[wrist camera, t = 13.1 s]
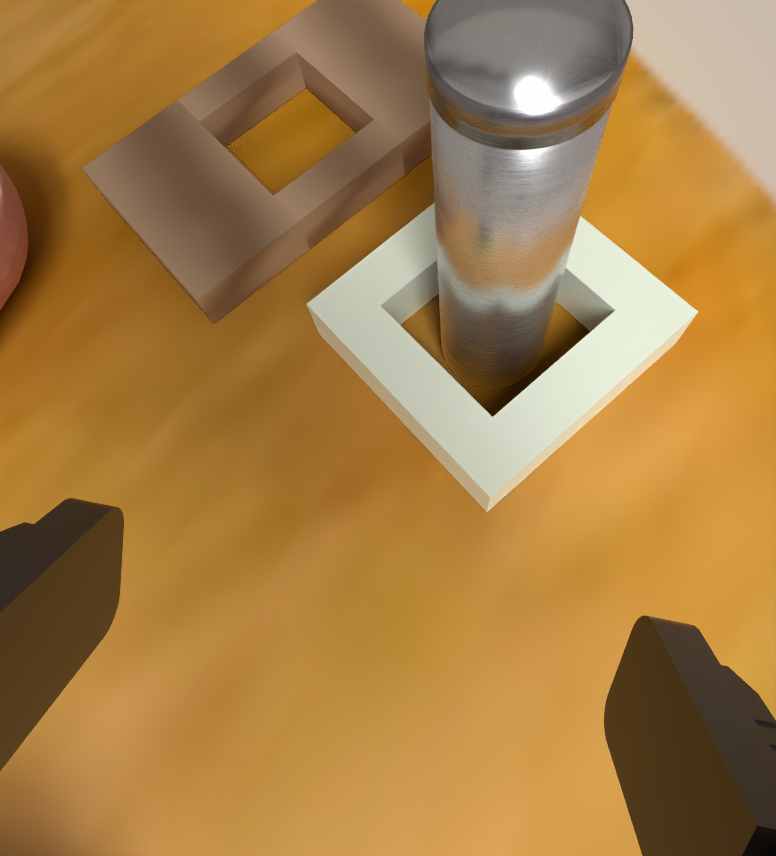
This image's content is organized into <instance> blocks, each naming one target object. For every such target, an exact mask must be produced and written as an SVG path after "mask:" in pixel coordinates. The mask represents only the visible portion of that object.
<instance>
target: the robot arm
mask: <svg viewBox="0 0 776 856" xmlns="http://www.w3.org/2000/svg"><path fill="white" fill-rule="evenodd" d="M123 530H124V518H123V513H122V511H121V509H120V508H118V507H113V506H108V505H103V504H98V503H93V502H88V501H83V500H78V499H73V498H69V499H66V500H64V501H63V502H62V503H60V504H59V505H58V506H57V507H55V508H54V509H53V510H52V511H50V512H49V513H48V514H46V515H45V516H44V517H43V518H41V519H40V520H39V521H38V522H36V523H35V524H30V523H25V522H24V523H22V524H19V525H16V526H14V527H11V528H9V529H6V530H3V531H1V532H0V771H1V769H2V768H3V767H4V766H5V764H6V763H7V762H8V760H9V759H10V758H11V757H12V755H13V754H14V753H15V751H16V750H17V749H18V748H19V746H20V745H21V744H22V742H23V741H24V740H25V738H26V737H27V736H28V735H29V733H30V732H31V731H32V729H33V728H34V727H35V726H36V724H37V723H38V722H39V720H40V719H41V718H42V716H43V715H44V714H45V713H46V711H47V710H48V709H49V707H50V706H51V705H52V704H53V702H54V701H55V700H56V698H57V697H58V696H59V695H60V693H61V692H62V691H63V689H64V688H65V687H66V685H67V684H68V683H69V682H70V680H71V679H72V678H73V676H74V675H75V674H76V673H77V671H78V670H79V669H80V667H81V666H82V665H83V664H84V662H85V661H86V660H87V658H88V657H89V656H90V654H91V653H92V652H93V651H94V649H95V648H96V647H97V645H98V644H99V643H100V642H101V640H102V639H103V638H104V636H105V635H106V633H107V632H108V630H109V628H110V626H111V624H112V621H113V619H114V616H115V614H116V610H117V607H118V602H119V596H120V582H121V565H122V547H123ZM604 728H605V736H606V740H607V744H608V747H609V750H610V753H611V757H612V760H613V763H614V766H615V769H616V773H617V776H618V779H619V782H620V785H621V788H622V792H623V795H624V798H625V801H626V804H627V808H628V811H629V814H630V817H631V820H632V823H633V827H634V830H635V833H636V836H637V839H638V843H639V846H640V849H641V852H642V855H643V856H776V720H775V719H774V717H773V716H772V714H771V713H770V711H769V710H768V708H767V707H766V705H765V704H764V702H763V701H762V699H761V697H760V696H759V694H757V693H756V692H755V691H754V690H753V689H752V688H751V687H750V686H749V685H748V684H747V683H746V682H744V681H743V680H742V679H741V678H740V677H739V676H738V675H737V674H736V673H735V672H734V671H732V670H731V669H730V668H729V667H728V666H723V665H720V663H719V661H718V660H717V658H716V657H715V655H714V653H713V652H712V650H711V648H710V647H709V645H708V644H707V642H706V640H705V639H704V637H703V635H702V634H701V632H700V631H699V629H698V628H697V627H695V626H693V625H689V624H684V623H680V622H675V621H670V620H665V619H660V618H655V617H650V616H641V617H640V618H639V619H638V620H637V621H636V623H635V624H634V626H633V629H632V631H631V634H630V637H629V639H628V642H627V645H626V647H625V650H624V653H623V655H622V658H621V661H620V664H619V666H618V669H617V672H616V674H615V677H614V680H613V682H612V685H611V688H610V691H609V693H608V696H607V700H606V705H605V713H604Z"/></svg>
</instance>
